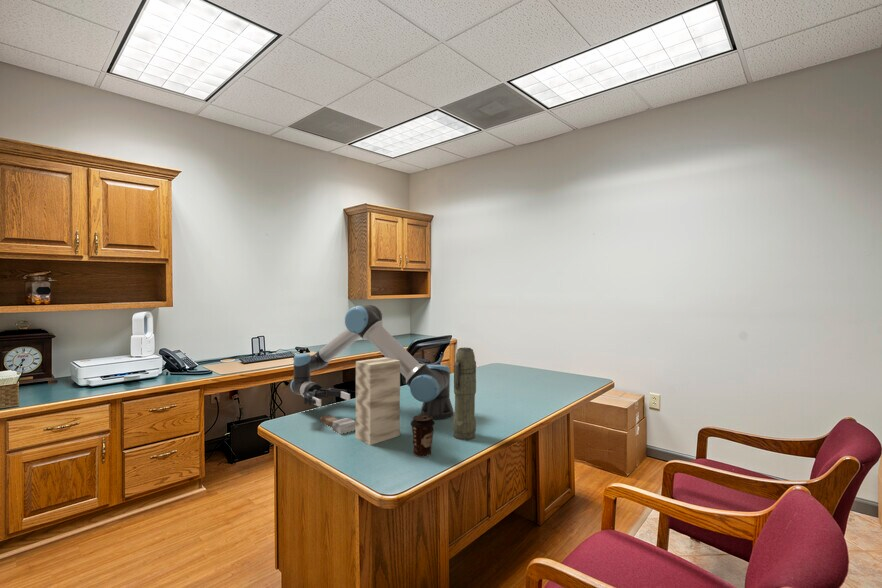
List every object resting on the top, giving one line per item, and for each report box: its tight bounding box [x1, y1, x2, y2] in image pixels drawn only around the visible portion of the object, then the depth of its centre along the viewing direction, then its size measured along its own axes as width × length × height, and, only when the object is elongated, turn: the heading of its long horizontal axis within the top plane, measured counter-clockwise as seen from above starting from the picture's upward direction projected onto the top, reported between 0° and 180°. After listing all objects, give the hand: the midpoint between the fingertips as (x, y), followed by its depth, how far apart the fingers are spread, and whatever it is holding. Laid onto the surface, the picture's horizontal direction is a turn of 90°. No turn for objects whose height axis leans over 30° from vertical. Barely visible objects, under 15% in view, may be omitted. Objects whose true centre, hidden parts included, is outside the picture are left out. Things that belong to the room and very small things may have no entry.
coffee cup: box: [410, 414, 436, 458], centre depth 146 cm, size 9×8×13 cm
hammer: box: [319, 414, 356, 435], centre depth 173 cm, size 19×7×4 cm, turn 45°
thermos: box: [452, 347, 477, 441], centre depth 163 cm, size 9×12×35 cm
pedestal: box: [354, 356, 401, 446], centre depth 162 cm, size 10×14×30 cm
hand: (335, 400), depth 174 cm, fingers open, 13 cm apart
